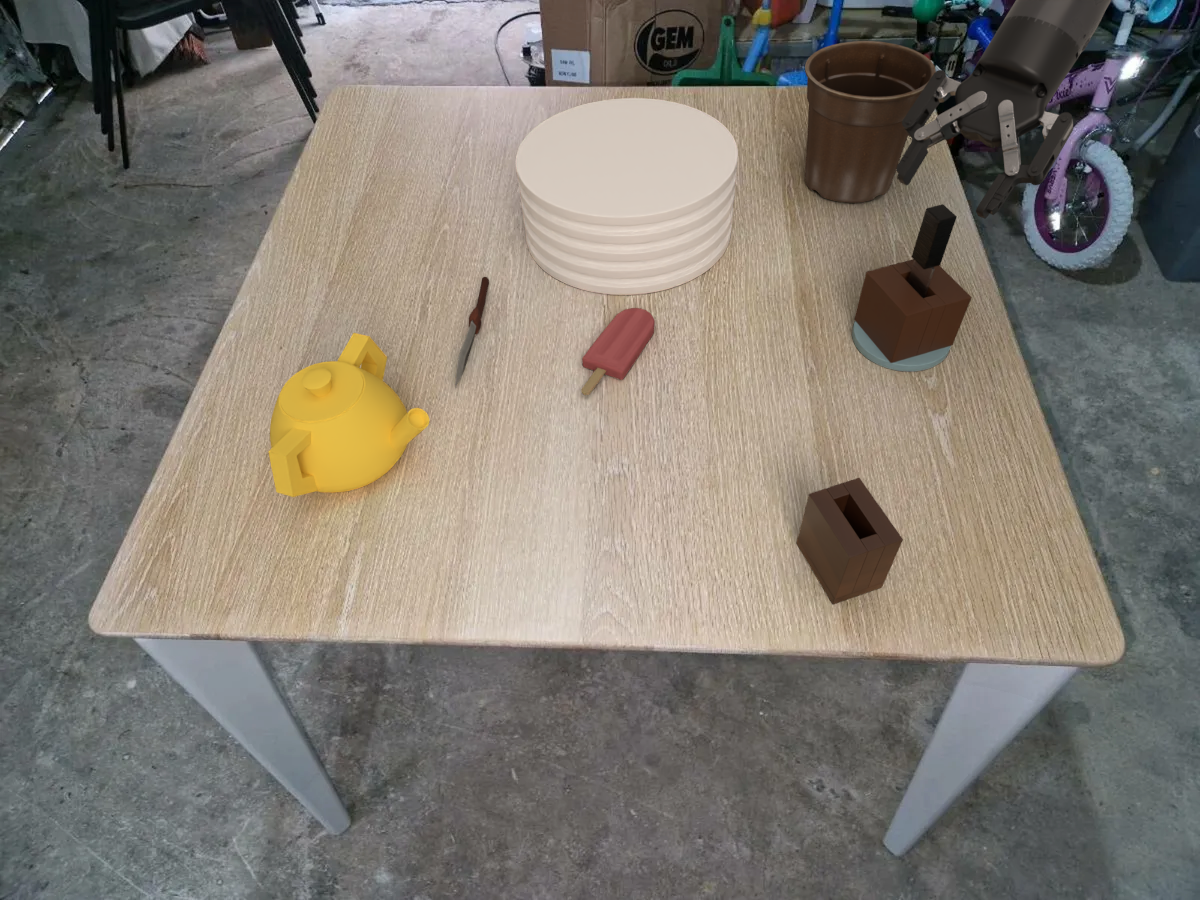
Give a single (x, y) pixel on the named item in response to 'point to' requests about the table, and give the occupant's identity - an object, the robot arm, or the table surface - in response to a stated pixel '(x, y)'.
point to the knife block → (847, 540)
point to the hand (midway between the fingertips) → (940, 198)
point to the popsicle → (618, 346)
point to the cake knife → (930, 246)
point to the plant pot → (859, 116)
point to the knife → (472, 329)
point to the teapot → (339, 424)
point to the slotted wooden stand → (908, 318)
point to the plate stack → (627, 194)
